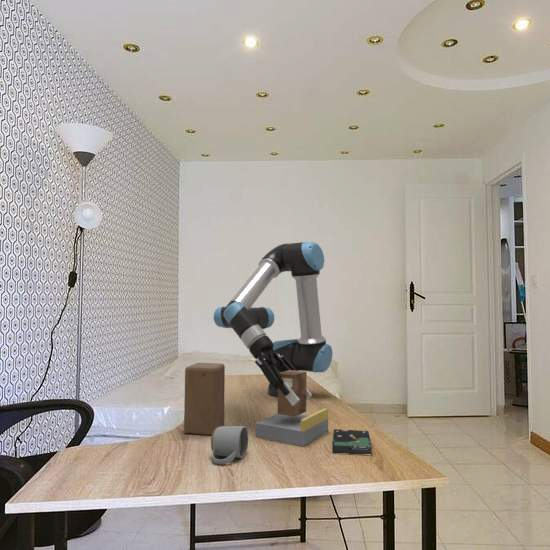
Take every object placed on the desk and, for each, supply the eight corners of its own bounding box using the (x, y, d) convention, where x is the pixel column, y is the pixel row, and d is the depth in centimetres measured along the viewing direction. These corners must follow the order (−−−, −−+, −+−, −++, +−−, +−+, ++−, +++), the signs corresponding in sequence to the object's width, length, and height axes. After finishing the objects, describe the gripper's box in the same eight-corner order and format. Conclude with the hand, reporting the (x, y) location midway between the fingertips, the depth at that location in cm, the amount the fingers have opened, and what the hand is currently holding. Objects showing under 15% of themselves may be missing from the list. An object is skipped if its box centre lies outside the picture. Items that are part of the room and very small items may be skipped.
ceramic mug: (219, 449, 117) (220, 420, 117) (248, 452, 115) (249, 422, 115) (204, 464, 107) (204, 432, 107) (235, 467, 105) (235, 435, 105)
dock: (283, 423, 142) (283, 402, 142) (328, 431, 133) (328, 408, 134) (255, 436, 128) (255, 412, 129) (303, 446, 120) (303, 420, 120)
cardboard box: (289, 408, 136) (289, 369, 136) (306, 411, 133) (306, 371, 133) (277, 413, 130) (277, 373, 130) (295, 416, 126) (295, 374, 127)
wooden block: (214, 436, 129) (215, 367, 130) (182, 434, 131) (183, 366, 132) (225, 426, 138) (225, 363, 140) (195, 424, 140) (196, 362, 142)
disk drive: (333, 438, 129) (332, 455, 114) (332, 428, 129) (332, 444, 115) (368, 440, 128) (372, 457, 113) (368, 430, 128) (372, 446, 113)
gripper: (267, 347, 149) (309, 402, 139) (231, 353, 132) (277, 415, 122) (281, 332, 146) (325, 386, 137) (246, 336, 129) (293, 398, 120)
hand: (302, 400), depth 129 cm, fingers closed on cardboard box, 7 cm apart
